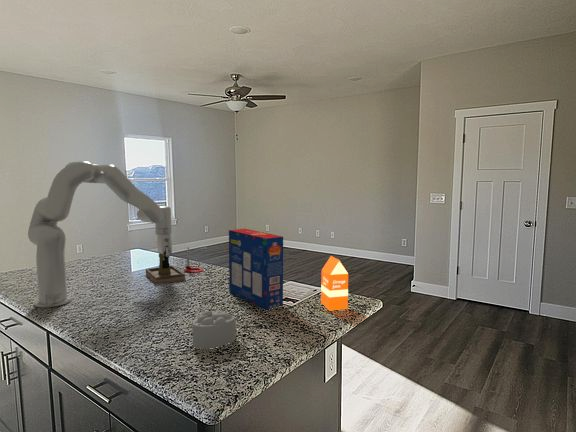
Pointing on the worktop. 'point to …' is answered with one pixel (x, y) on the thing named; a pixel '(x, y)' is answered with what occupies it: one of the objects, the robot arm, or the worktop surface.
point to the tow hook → (191, 267)
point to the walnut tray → (159, 279)
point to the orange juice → (334, 285)
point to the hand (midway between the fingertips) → (164, 266)
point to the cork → (163, 270)
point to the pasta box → (256, 267)
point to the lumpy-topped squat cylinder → (213, 329)
